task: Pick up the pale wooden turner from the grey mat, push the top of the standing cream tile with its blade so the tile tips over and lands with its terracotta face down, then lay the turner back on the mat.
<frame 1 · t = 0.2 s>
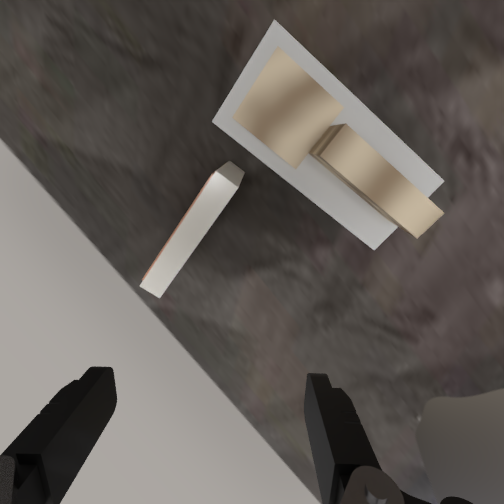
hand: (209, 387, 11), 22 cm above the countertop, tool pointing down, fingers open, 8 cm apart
turner: (359, 176, 28), resting on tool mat
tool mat: (330, 152, 28), on the countertop
tile: (207, 210, 30), on the countertop
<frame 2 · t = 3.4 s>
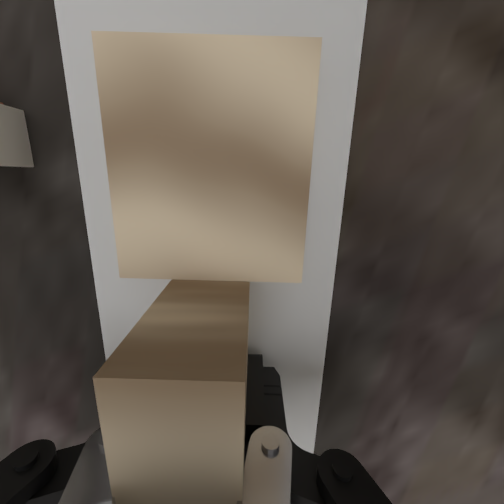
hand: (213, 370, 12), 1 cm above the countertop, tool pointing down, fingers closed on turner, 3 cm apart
turner: (215, 391, 13), resting on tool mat, touching gripper
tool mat: (215, 312, 12), on the countertop
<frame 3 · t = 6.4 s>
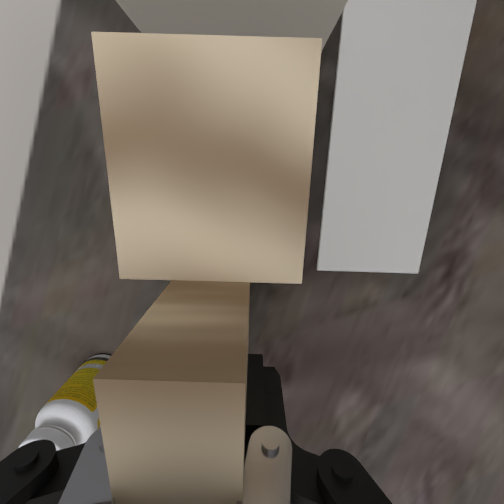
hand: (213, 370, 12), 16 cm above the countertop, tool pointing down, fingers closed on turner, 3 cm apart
turner: (215, 392, 13), point 15 cm above the countertop, touching gripper
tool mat: (385, 148, 24), on the countertop
tile: (240, 53, 22), on the countertop
supplement bottle: (107, 371, 31), on the countertop
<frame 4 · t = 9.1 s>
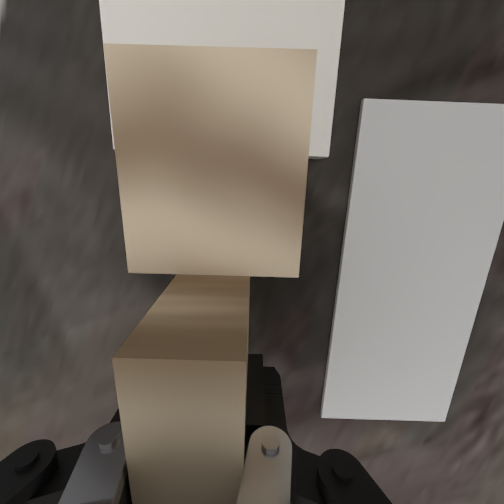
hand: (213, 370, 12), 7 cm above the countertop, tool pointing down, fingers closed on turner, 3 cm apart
turner: (217, 381, 13), point 6 cm above the countertop, touching gripper
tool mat: (408, 285, 19), on the countertop
tile: (223, 154, 16), point 1 cm above the countertop, tilted 90°
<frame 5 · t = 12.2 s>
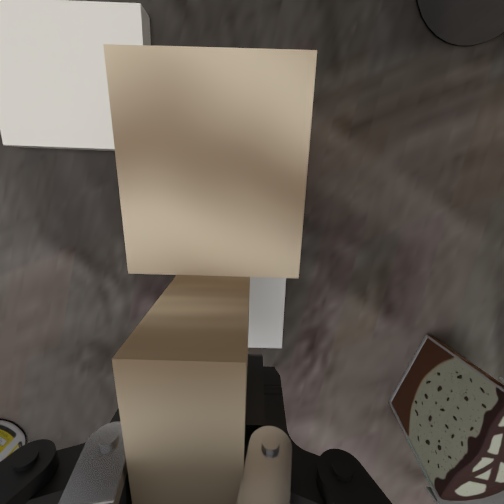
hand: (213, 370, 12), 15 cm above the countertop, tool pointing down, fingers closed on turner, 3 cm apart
turner: (217, 381, 13), point 14 cm above the countertop, touching gripper
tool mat: (235, 241, 26), on the countertop
tile: (83, 149, 23), point 1 cm above the countertop, tilted 90°
food container: (430, 375, 30), on the countertop
supplement bottle: (6, 433, 33), on the countertop
when the fingers open (2 cm above the countertop, at t = 14.9 s): turner stays where it is, resting on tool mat.
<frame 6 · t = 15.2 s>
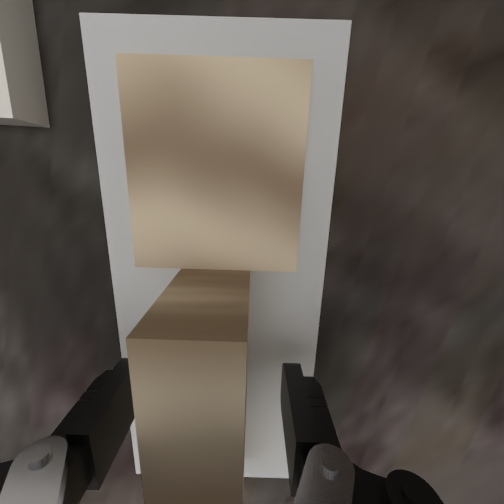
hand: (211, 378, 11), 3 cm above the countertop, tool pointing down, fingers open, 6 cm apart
turner: (218, 372, 14), resting on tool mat
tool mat: (218, 298, 13), on the countertop
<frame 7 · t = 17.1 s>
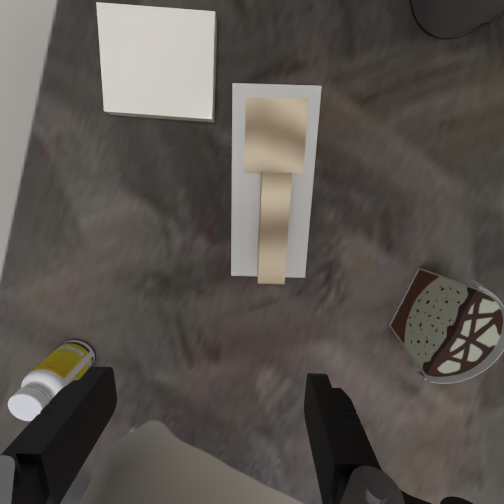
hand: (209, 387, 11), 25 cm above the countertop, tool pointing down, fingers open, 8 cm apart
turner: (270, 222, 34), resting on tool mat
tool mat: (271, 189, 33), on the countertop
tile: (161, 117, 31), point 1 cm above the countertop, tilted 90°
food container: (421, 302, 38), on the countertop
supplement bottle: (79, 353, 40), on the countertop
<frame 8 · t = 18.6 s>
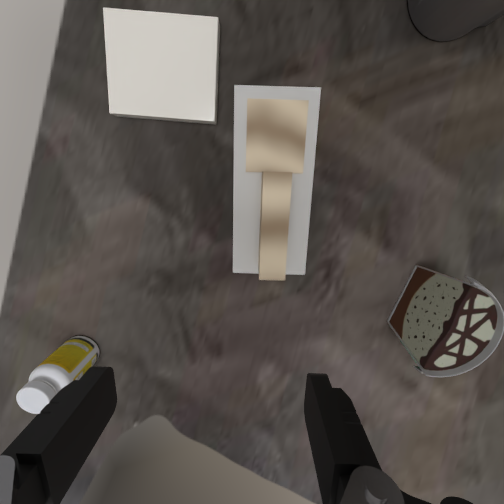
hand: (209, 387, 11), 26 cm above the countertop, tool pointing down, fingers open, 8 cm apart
turner: (271, 220, 35), resting on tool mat
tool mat: (272, 188, 34), on the countertop
tile: (164, 119, 31), point 1 cm above the countertop, tilted 90°
food container: (419, 299, 38), on the countertop
supplement bottle: (84, 349, 41), on the countertop
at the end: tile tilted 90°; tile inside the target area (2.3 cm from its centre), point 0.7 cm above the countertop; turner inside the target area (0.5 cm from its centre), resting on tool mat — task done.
